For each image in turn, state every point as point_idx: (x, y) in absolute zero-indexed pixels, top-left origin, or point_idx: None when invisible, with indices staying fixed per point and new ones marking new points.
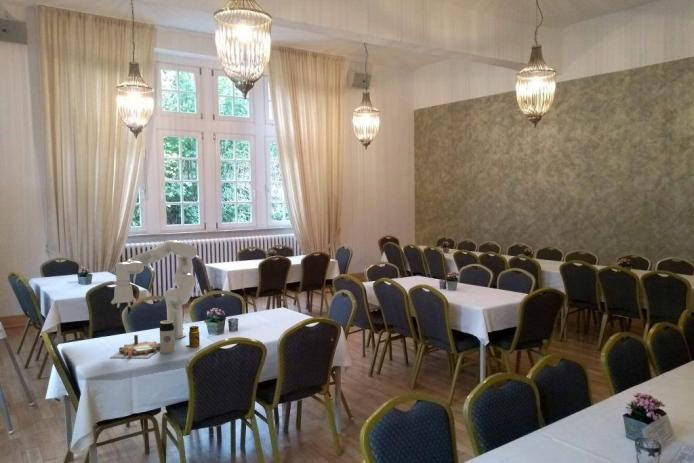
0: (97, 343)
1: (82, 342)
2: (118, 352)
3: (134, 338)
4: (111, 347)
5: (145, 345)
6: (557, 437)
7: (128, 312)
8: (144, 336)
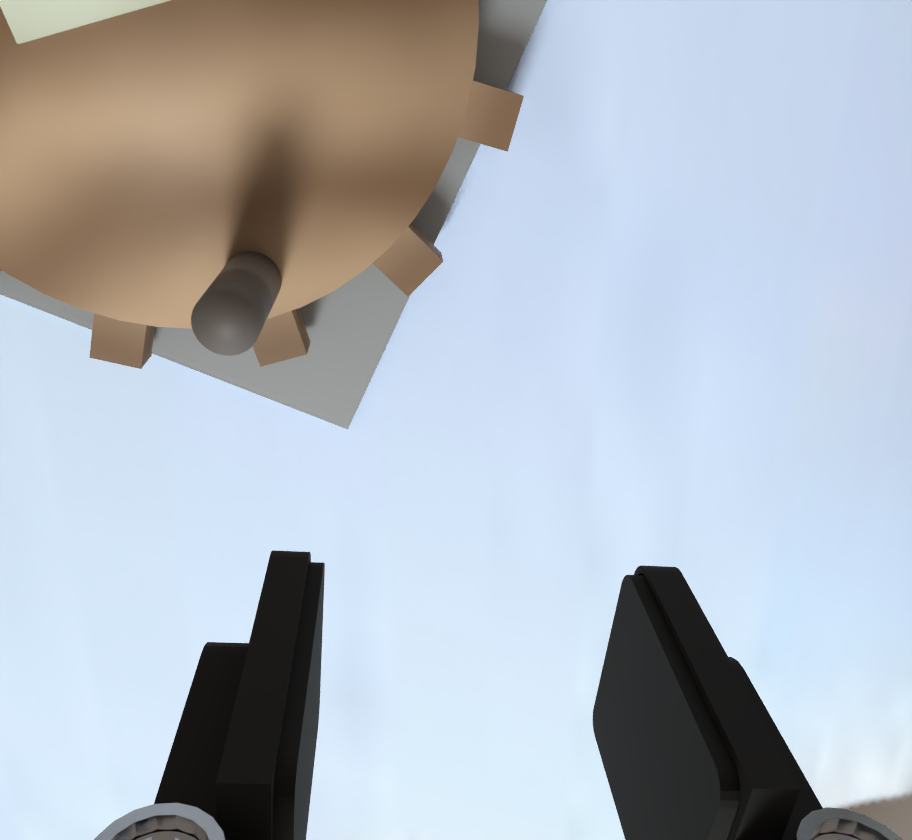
0: (744, 649)
1: (881, 734)
2: (531, 9)
3: (262, 289)
4: (606, 412)
5: (66, 61)
6: None
7: (295, 578)
8: None
